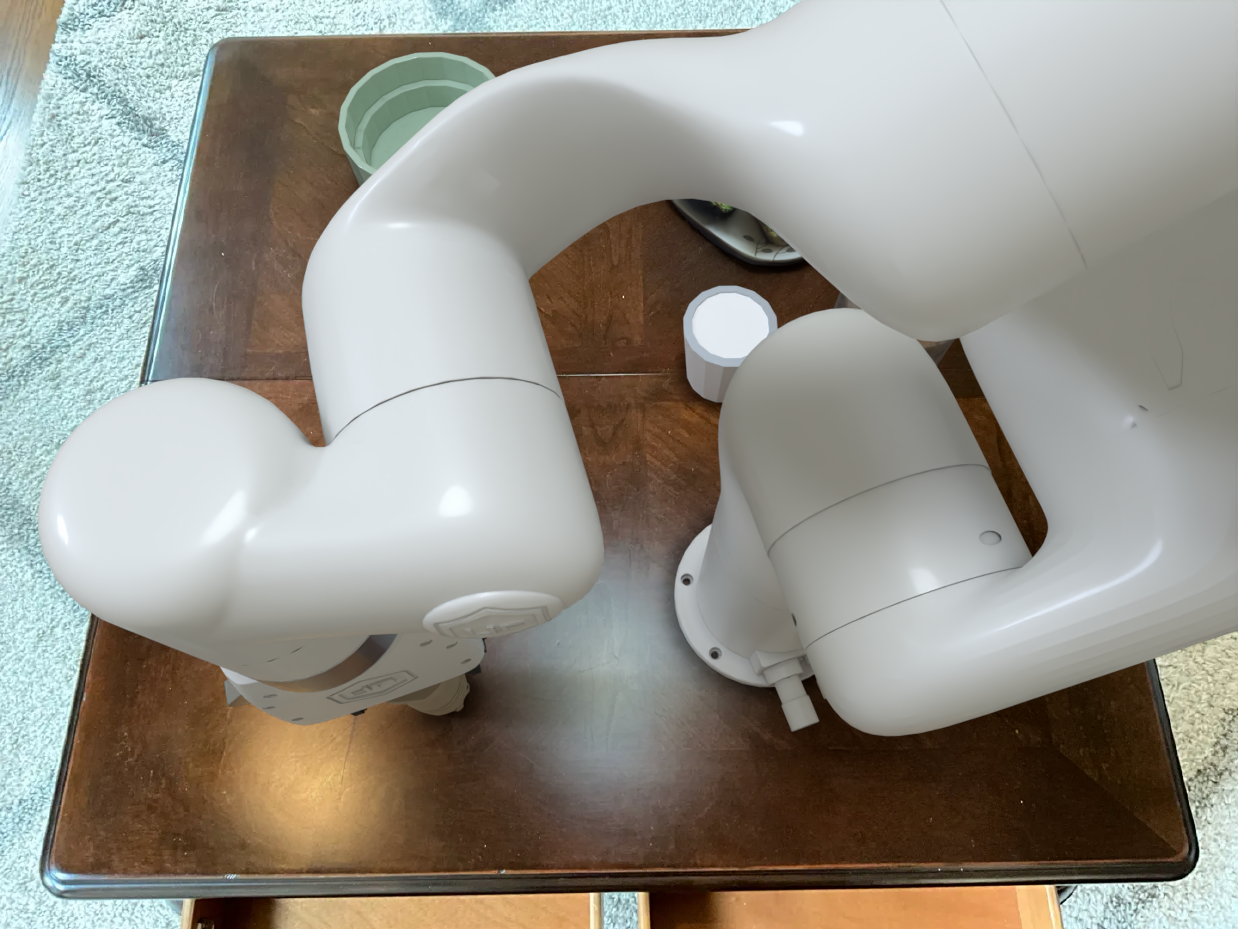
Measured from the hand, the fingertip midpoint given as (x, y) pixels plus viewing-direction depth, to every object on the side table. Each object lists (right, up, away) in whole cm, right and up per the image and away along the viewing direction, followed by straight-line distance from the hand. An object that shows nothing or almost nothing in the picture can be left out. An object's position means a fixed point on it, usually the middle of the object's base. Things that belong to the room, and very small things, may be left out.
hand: (413, 668), depth 51 cm
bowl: (-4, +39, +27) cm, 47 cm away
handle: (0, -4, +9) cm, 10 cm away
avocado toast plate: (+24, +36, +26) cm, 51 cm away
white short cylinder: (+20, +19, +19) cm, 33 cm away
